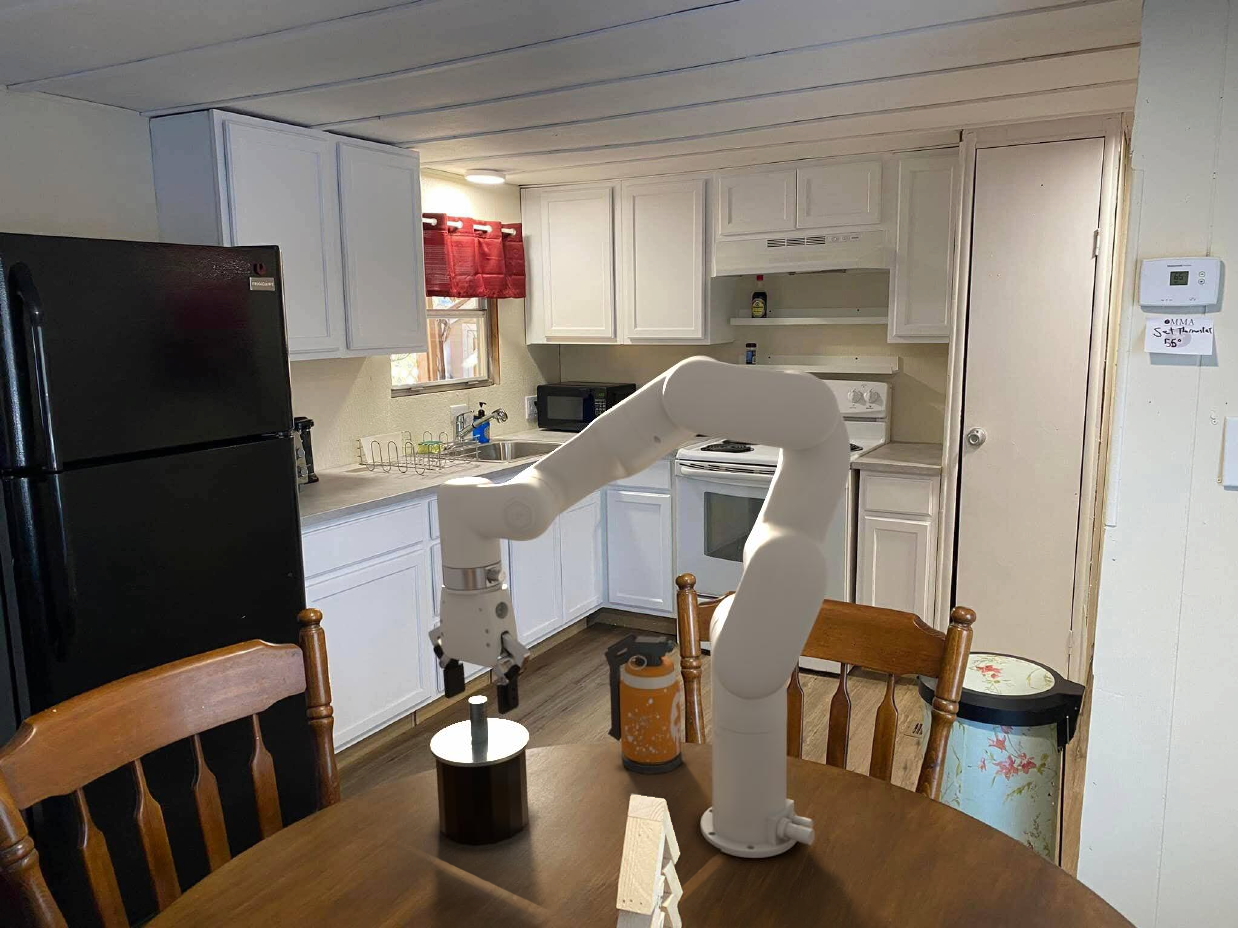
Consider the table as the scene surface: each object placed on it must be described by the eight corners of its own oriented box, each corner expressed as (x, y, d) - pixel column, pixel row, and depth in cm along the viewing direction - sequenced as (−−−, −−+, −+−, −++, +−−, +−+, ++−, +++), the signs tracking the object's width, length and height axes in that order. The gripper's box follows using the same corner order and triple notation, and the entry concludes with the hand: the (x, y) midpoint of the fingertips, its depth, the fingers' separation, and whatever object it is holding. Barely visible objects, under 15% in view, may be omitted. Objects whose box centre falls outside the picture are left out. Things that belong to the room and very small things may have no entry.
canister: (676, 780, 132) (674, 648, 129) (602, 774, 134) (598, 644, 131) (684, 751, 141) (682, 627, 138) (614, 746, 143) (611, 624, 140)
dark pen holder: (546, 818, 123) (542, 737, 121) (485, 859, 113) (480, 773, 112) (484, 794, 129) (480, 717, 128) (422, 831, 120) (416, 749, 119)
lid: (549, 741, 121) (547, 693, 120) (480, 781, 111) (477, 729, 110) (480, 719, 129) (477, 673, 128) (410, 754, 118) (406, 705, 117)
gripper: (543, 576, 114) (550, 706, 117) (447, 560, 124) (456, 680, 127) (501, 592, 108) (510, 728, 111) (404, 574, 118) (414, 698, 121)
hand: (481, 702), depth 119 cm, fingers open, 9 cm apart
